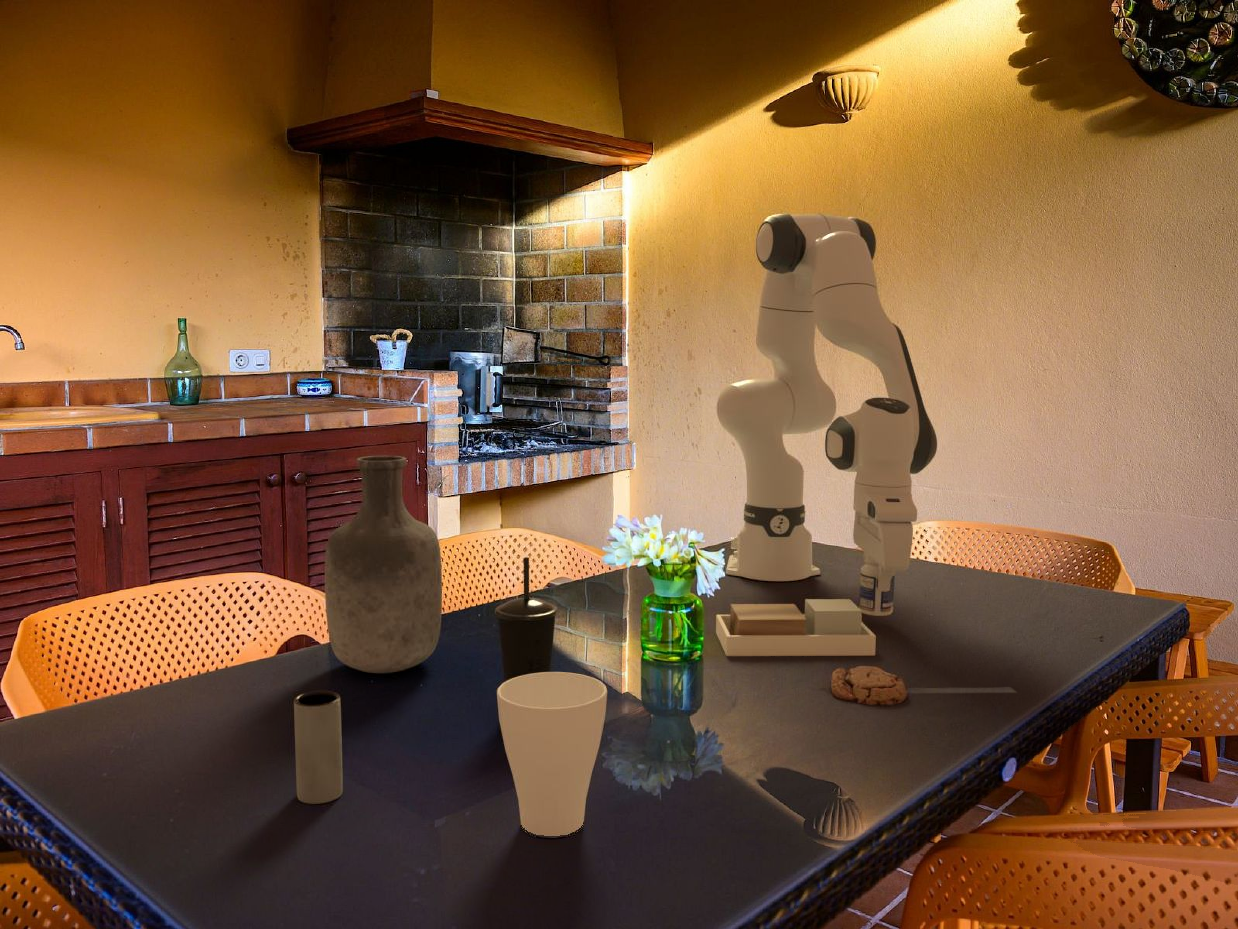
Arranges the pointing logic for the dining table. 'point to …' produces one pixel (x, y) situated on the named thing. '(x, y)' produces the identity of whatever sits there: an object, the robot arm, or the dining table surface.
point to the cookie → (868, 686)
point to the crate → (794, 643)
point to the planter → (318, 747)
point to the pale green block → (832, 617)
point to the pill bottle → (874, 591)
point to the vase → (383, 578)
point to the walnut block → (766, 619)
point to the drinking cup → (526, 633)
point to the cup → (552, 745)
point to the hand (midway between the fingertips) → (877, 584)
